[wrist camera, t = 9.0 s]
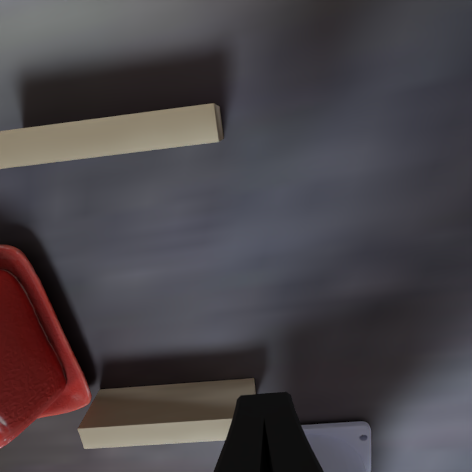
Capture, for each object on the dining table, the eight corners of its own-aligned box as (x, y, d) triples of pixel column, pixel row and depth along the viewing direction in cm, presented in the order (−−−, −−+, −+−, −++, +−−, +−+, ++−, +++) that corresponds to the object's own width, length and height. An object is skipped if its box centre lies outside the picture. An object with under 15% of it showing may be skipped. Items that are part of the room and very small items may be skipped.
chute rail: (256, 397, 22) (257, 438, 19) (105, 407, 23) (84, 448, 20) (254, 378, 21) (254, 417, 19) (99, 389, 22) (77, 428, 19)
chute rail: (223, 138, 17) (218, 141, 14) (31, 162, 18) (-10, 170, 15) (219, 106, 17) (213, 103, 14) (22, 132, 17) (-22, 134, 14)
